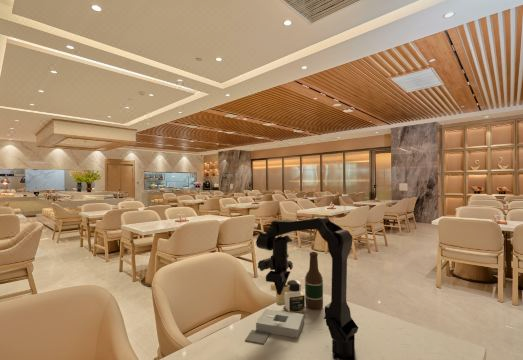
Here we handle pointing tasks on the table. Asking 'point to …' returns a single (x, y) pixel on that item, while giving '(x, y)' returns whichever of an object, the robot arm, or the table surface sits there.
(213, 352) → the table surface
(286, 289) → the t key
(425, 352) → the table surface
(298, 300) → the medicine bottle
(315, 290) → the beer bottle
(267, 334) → the pad
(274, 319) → the grey socket block
